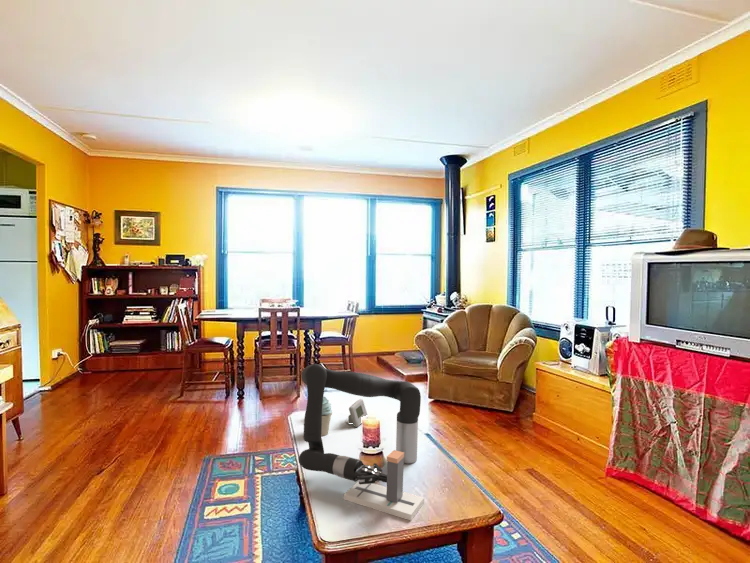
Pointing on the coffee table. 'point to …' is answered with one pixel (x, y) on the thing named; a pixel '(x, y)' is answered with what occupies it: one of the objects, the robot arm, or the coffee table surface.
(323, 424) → the ice cream cone
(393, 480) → the post
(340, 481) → the coffee table surface
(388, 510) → the plate
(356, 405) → the digital clock
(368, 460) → the coffee table surface
